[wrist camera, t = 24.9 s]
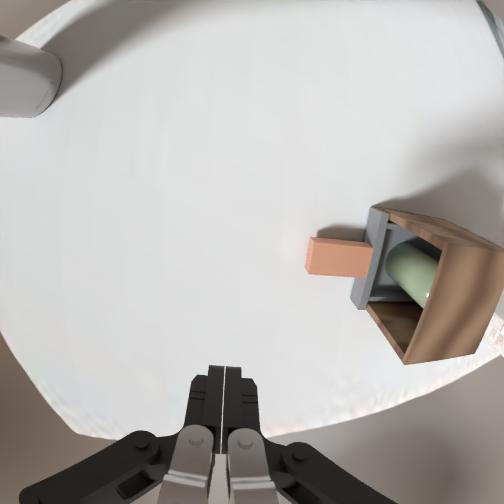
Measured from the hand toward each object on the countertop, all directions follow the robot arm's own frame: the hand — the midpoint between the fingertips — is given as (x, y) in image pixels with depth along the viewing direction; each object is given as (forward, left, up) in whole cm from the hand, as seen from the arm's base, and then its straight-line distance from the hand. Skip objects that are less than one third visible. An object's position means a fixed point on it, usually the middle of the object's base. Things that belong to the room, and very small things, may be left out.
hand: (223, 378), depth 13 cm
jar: (+18, +11, -20) cm, 29 cm away
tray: (+15, +9, -21) cm, 27 cm away
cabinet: (+19, +12, -21) cm, 30 cm away
